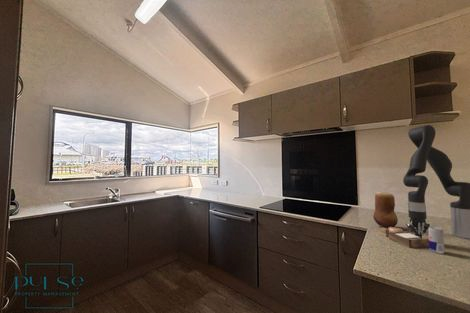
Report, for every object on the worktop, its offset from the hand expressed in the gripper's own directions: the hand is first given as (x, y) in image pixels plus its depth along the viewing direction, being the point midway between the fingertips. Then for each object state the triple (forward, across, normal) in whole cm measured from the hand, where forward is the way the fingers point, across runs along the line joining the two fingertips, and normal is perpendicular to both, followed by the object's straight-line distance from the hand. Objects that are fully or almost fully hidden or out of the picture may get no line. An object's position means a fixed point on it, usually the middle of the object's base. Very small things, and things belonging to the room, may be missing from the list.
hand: (418, 240), depth 111 cm
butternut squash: (+1, -4, -26) cm, 26 cm away
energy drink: (+1, +4, +12) cm, 13 cm away
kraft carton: (+1, +7, 0) cm, 7 cm away
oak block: (+1, +10, -13) cm, 16 cm away
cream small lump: (+1, +2, -12) cm, 12 cm away
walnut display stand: (+1, +6, 0) cm, 7 cm away
